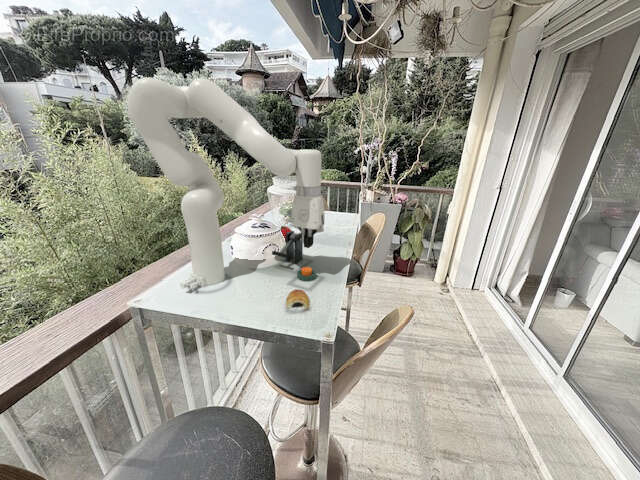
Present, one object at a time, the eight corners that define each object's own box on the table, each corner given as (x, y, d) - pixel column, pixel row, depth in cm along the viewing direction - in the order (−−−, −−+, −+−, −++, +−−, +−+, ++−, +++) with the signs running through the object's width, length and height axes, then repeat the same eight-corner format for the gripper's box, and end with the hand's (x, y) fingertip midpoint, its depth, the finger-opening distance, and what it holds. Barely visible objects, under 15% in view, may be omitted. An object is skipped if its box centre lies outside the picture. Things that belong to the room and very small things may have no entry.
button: (308, 277, 90) (308, 272, 89) (299, 274, 91) (299, 269, 91) (313, 272, 93) (313, 268, 92) (304, 270, 94) (304, 266, 94)
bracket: (295, 272, 98) (295, 240, 94) (275, 266, 102) (275, 235, 97) (311, 261, 108) (312, 231, 104) (292, 256, 112) (292, 227, 108)
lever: (286, 260, 94) (285, 255, 92) (272, 256, 96) (271, 251, 95) (303, 239, 102) (302, 234, 100) (290, 236, 104) (288, 231, 103)
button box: (309, 290, 87) (309, 281, 86) (289, 283, 90) (288, 275, 89) (323, 277, 95) (323, 270, 94) (304, 272, 99) (304, 264, 98)
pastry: (287, 294, 84) (287, 284, 82) (308, 294, 84) (308, 284, 83) (286, 312, 75) (286, 301, 74) (309, 312, 76) (310, 301, 74)
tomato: (278, 237, 133) (277, 222, 130) (294, 239, 131) (294, 224, 128) (270, 243, 125) (270, 227, 122) (288, 245, 123) (288, 229, 120)
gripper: (281, 190, 82) (283, 245, 88) (324, 196, 76) (323, 254, 82) (294, 187, 88) (295, 239, 95) (335, 192, 82) (333, 247, 88)
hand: (308, 246), depth 88 cm, fingers closed
